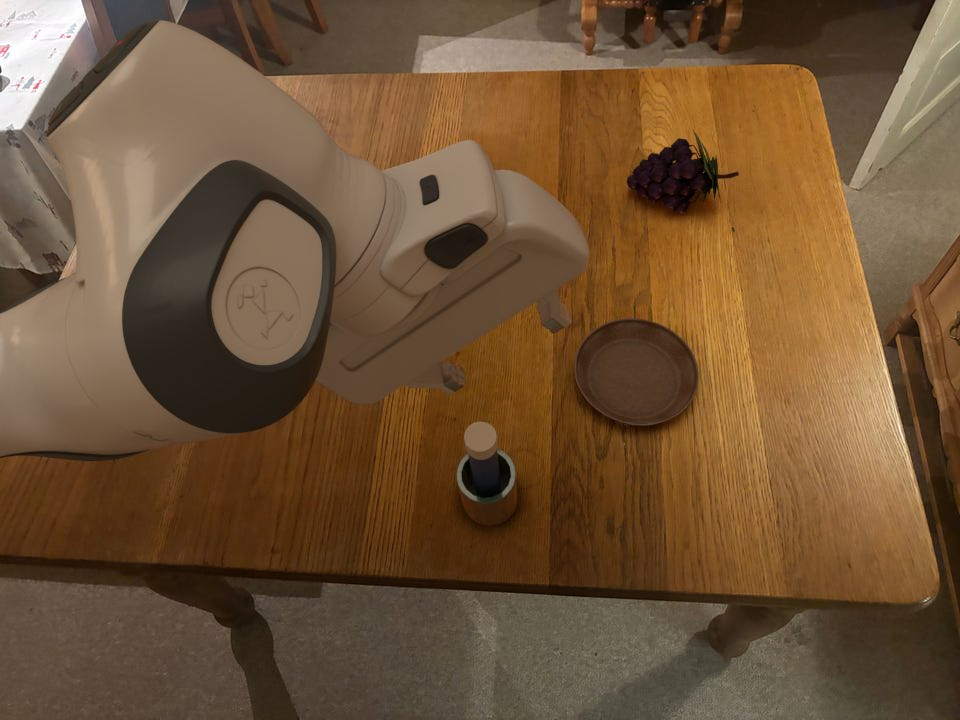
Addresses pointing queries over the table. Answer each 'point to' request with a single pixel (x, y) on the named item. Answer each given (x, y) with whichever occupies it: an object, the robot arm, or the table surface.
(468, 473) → the pen pot
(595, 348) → the saucer
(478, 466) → the marker
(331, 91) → the table surface
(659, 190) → the fruit
